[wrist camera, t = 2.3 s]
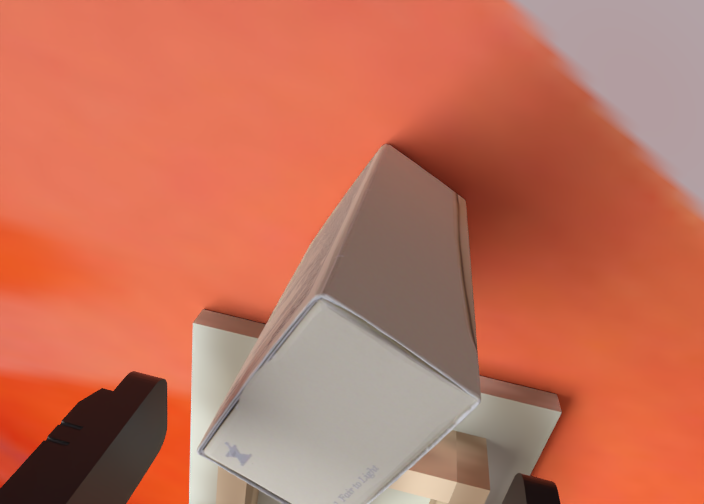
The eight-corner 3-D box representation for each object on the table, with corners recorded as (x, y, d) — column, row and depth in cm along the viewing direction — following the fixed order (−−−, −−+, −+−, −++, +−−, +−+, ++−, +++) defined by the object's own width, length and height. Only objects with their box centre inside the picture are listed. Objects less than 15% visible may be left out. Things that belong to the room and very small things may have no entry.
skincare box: (383, 296, 24) (333, 542, 14) (304, 243, 24) (186, 458, 13) (471, 195, 21) (494, 409, 11) (383, 132, 21) (315, 292, 10)
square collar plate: (196, 524, 35) (166, 588, 31) (203, 309, 26) (163, 362, 23) (459, 595, 34) (460, 670, 30) (557, 394, 25) (575, 465, 21)
